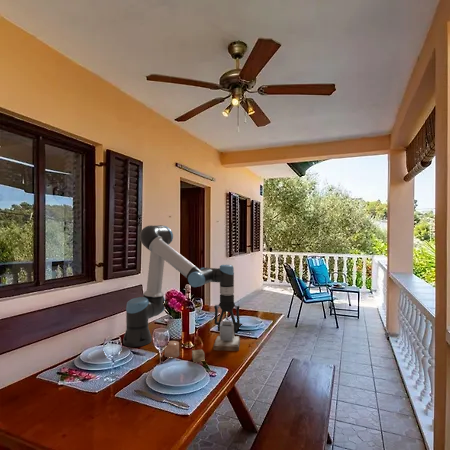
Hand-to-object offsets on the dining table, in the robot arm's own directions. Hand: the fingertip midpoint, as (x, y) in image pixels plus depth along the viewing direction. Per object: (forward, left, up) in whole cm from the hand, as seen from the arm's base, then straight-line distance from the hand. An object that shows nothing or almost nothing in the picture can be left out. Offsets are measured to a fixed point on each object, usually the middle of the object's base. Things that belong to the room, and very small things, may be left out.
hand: (227, 337), depth 165 cm
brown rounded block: (-26, -15, -4) cm, 30 cm away
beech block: (-12, -19, -5) cm, 23 cm away
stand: (0, 0, -4) cm, 4 cm away
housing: (0, 0, 0) cm, 0 cm away
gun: (0, +20, -5) cm, 21 cm away
